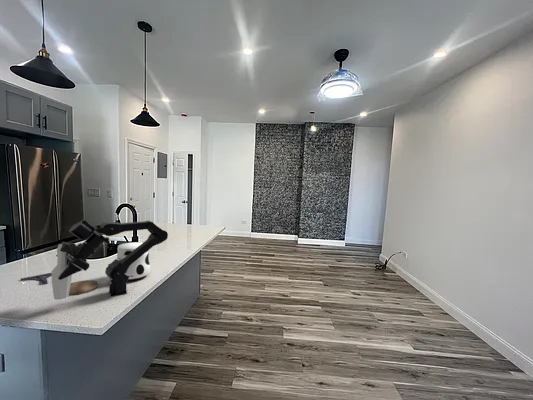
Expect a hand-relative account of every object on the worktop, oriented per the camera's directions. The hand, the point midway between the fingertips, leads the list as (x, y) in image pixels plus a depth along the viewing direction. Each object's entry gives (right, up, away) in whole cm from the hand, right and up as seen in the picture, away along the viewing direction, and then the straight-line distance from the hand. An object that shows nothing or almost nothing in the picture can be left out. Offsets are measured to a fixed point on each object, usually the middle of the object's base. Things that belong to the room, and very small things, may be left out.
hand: (57, 277), depth 99 cm
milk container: (+10, -12, +38) cm, 41 cm away
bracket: (-32, -11, +28) cm, 43 cm away
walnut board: (-6, -12, +20) cm, 24 cm away
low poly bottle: (0, -9, +1) cm, 9 cm away
